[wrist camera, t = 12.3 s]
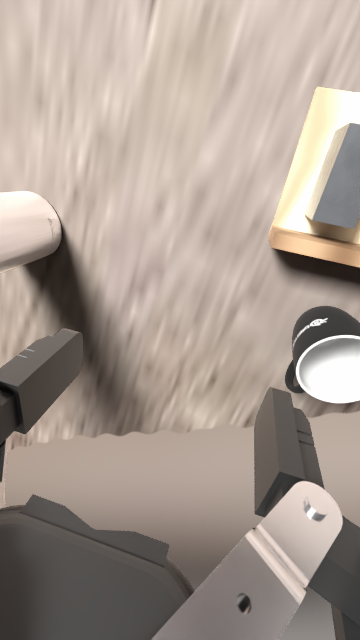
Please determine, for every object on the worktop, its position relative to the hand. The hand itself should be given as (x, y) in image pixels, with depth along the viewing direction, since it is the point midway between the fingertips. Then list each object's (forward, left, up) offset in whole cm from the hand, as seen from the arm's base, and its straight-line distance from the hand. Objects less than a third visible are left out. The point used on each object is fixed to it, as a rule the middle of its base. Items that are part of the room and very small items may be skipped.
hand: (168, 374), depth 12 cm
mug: (+15, -10, -28) cm, 34 cm away
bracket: (+12, +9, -27) cm, 31 cm away
